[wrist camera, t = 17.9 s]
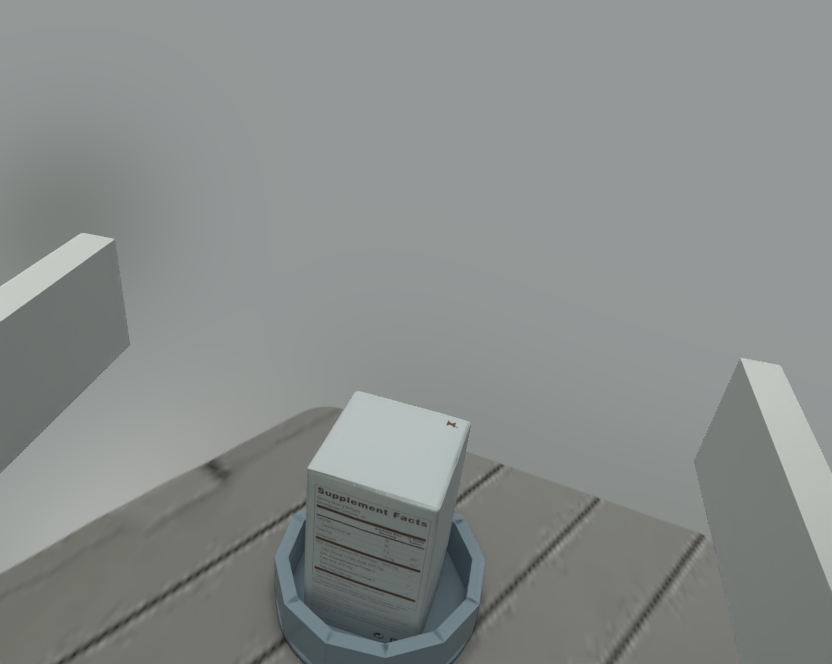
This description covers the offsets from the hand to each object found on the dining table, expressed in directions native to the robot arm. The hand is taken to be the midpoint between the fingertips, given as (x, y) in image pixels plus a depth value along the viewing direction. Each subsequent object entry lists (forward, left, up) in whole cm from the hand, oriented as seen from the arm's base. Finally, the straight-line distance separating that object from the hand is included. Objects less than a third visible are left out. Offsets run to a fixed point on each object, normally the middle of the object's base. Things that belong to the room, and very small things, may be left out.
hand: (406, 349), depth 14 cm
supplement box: (+2, -16, -30) cm, 34 cm away
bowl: (+2, -16, -30) cm, 34 cm away
